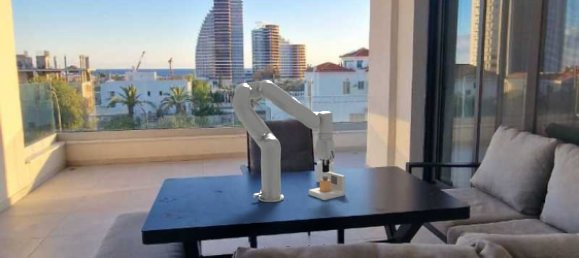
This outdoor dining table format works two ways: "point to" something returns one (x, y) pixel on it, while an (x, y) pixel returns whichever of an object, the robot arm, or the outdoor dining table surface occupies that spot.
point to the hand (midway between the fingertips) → (325, 171)
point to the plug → (325, 184)
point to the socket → (336, 187)
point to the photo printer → (320, 174)
